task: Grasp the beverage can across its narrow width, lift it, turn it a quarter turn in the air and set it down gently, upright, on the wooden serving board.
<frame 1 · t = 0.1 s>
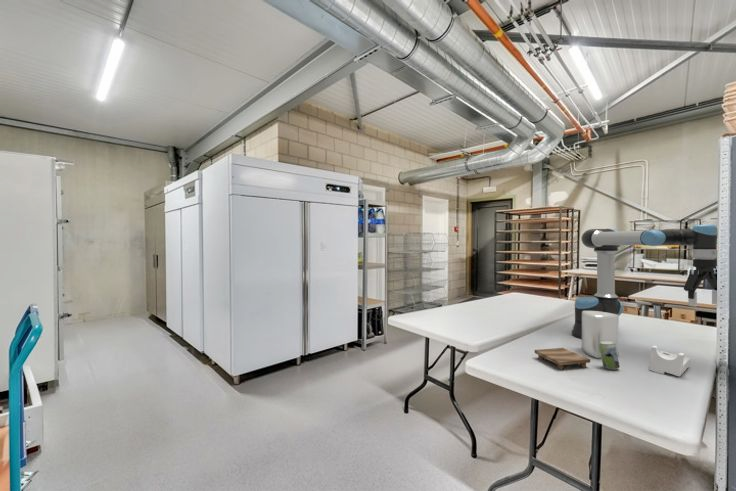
hand: (704, 305, 143), 28 cm above the table, fingers open, 13 cm apart
beverage can: (609, 368, 143), on the table
wooden serving board: (561, 362, 150), on the table
white pipe support bracket: (668, 369, 142), on the table
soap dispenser: (598, 355, 160), on the table
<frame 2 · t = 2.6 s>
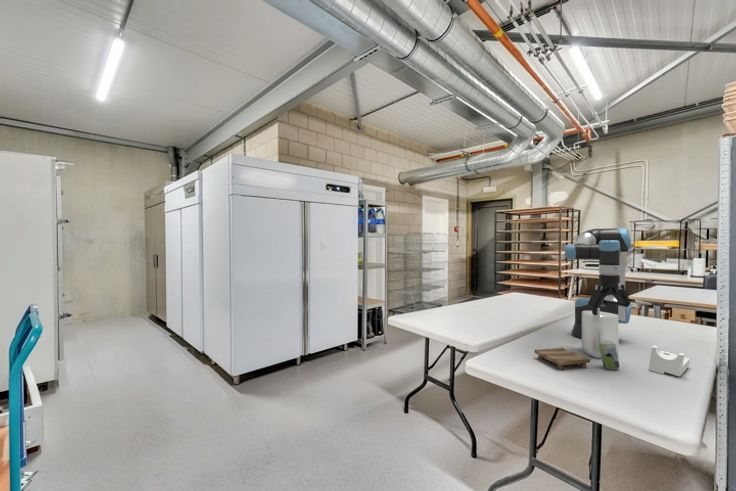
hand: (609, 321, 143), 21 cm above the table, fingers open, 13 cm apart
nothing on the table moved.
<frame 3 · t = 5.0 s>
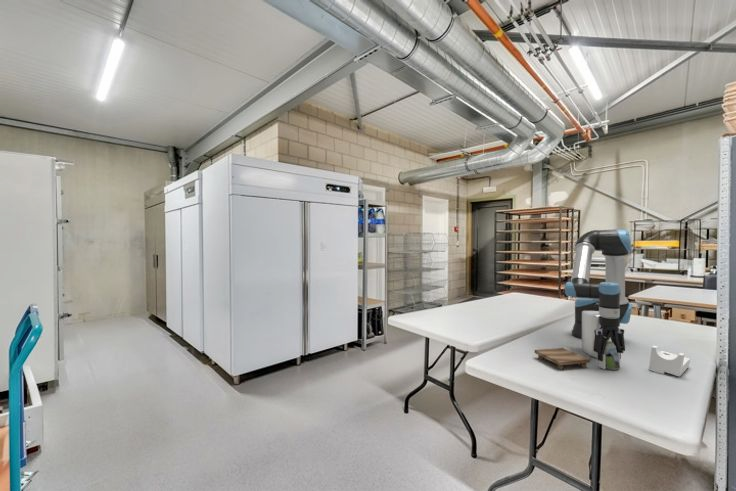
hand: (609, 366, 143), 1 cm above the table, fingers closed on beverage can, 7 cm apart
beverage can: (609, 368, 143), on the table, touching gripper
everything else where it was.
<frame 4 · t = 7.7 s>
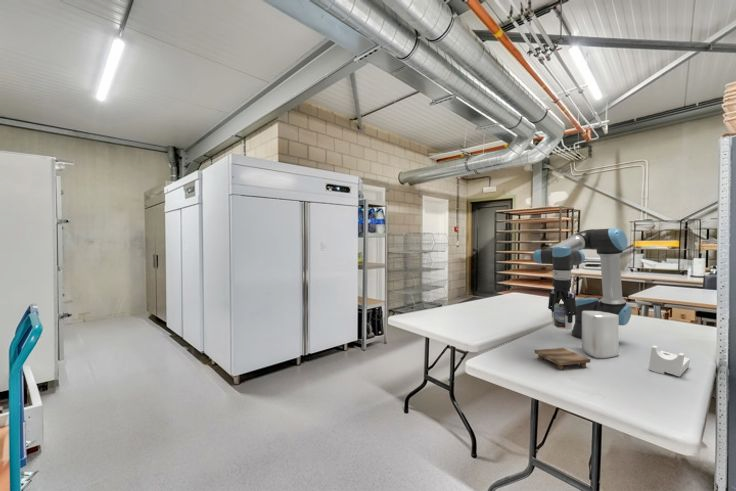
hand: (561, 327, 150), 17 cm above the table, fingers closed on beverage can, 7 cm apart
beverage can: (561, 328, 150), point 16 cm above the table, touching gripper
everything else where it was.
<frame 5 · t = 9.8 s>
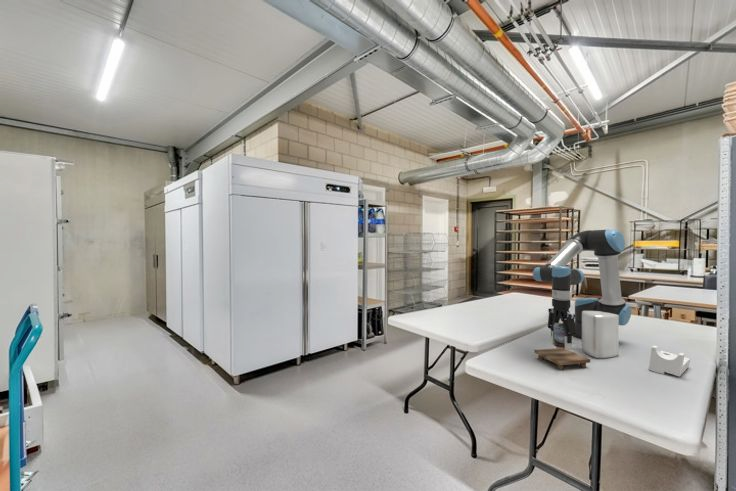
hand: (561, 346, 150), 8 cm above the table, fingers closed on beverage can, 7 cm apart
beverage can: (561, 348, 150), point 7 cm above the table, touching gripper
everything else where it was.
when the fingers open (5 cm above the table, at t = 10.8 s): beverage can stays where it is, resting on wooden serving board.
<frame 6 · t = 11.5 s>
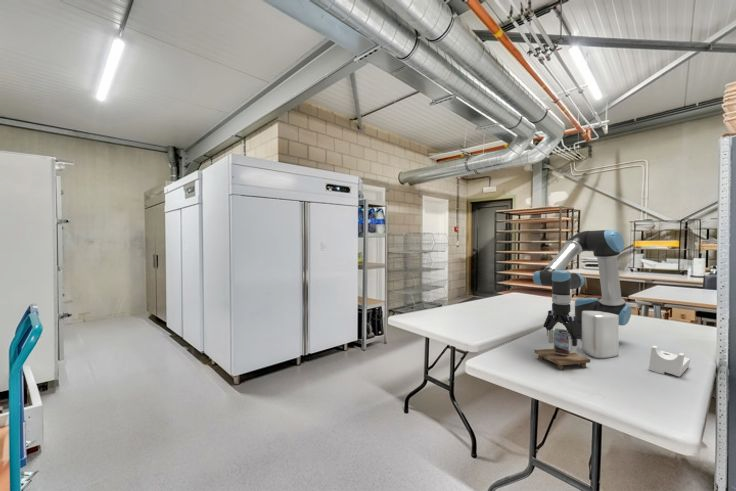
hand: (561, 347, 150), 7 cm above the table, fingers open, 13 cm apart
beverage can: (561, 354, 150), point 4 cm above the table, touching wooden serving board
everything else where it was.
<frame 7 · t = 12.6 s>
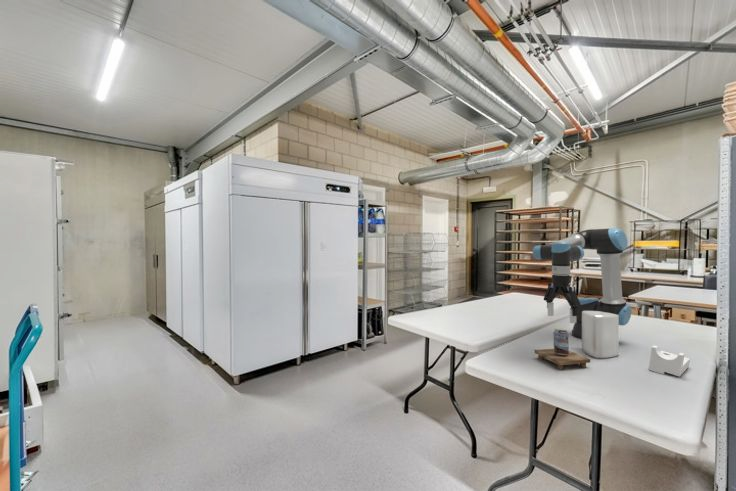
hand: (561, 319, 150), 21 cm above the table, fingers open, 13 cm apart
nothing on the table moved.
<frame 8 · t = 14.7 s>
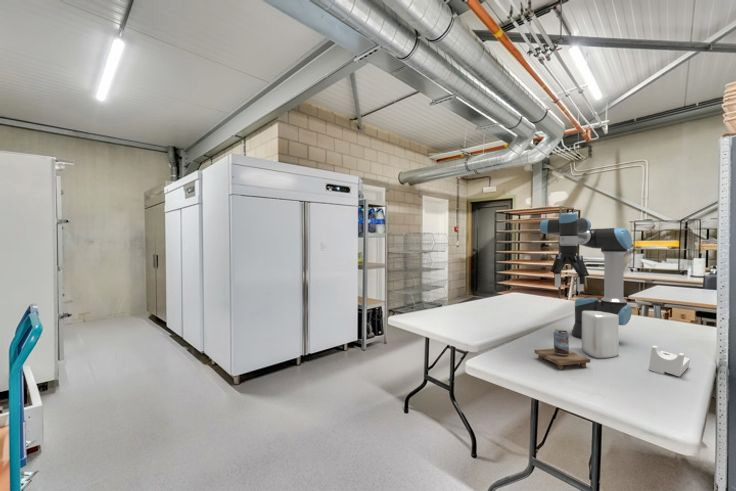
hand: (568, 288, 153), 35 cm above the table, fingers open, 13 cm apart
nothing on the table moved.
at the end: beverage can inside the target area on the wooden serving board (0.1 cm from its centre), point 3.8 cm above the wooden serving board's base; beverage can tilted 0°; beverage can touching wooden serving board; the gripper is holding nothing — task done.
